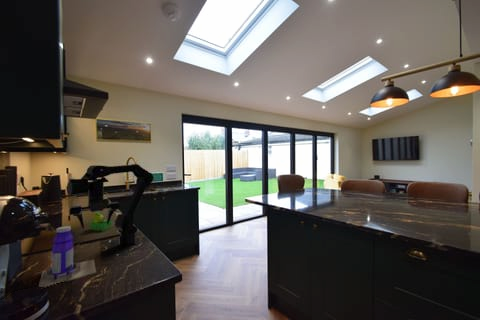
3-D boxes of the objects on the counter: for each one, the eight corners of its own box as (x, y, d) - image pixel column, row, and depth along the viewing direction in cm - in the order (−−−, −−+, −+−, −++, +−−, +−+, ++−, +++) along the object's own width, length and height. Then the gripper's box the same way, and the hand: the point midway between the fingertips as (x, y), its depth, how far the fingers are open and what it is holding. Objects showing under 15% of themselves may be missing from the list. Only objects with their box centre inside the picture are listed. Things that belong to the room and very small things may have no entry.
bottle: (57, 270, 80) (58, 225, 80) (75, 268, 82) (76, 224, 82) (48, 280, 73) (49, 231, 74) (68, 277, 75) (68, 229, 76)
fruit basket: (113, 227, 136) (113, 210, 136) (102, 232, 127) (102, 213, 127) (97, 227, 137) (97, 209, 138) (85, 231, 129) (86, 213, 129)
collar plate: (93, 260, 90) (93, 254, 90) (96, 273, 79) (96, 266, 79) (42, 273, 80) (42, 266, 80) (37, 289, 69) (38, 281, 70)
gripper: (69, 196, 84) (68, 235, 83) (122, 192, 95) (121, 226, 95) (70, 193, 92) (69, 228, 92) (118, 190, 104) (117, 221, 104)
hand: (95, 226), depth 95 cm, fingers open, 9 cm apart
